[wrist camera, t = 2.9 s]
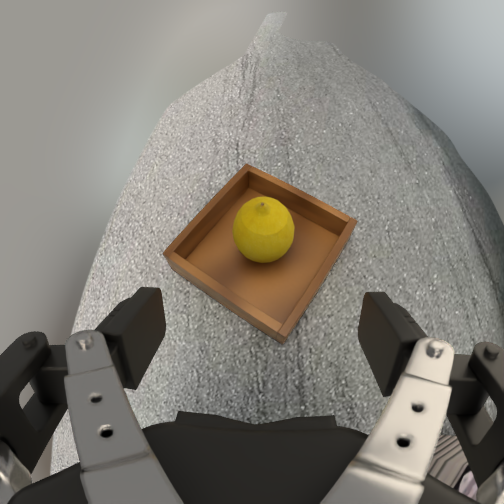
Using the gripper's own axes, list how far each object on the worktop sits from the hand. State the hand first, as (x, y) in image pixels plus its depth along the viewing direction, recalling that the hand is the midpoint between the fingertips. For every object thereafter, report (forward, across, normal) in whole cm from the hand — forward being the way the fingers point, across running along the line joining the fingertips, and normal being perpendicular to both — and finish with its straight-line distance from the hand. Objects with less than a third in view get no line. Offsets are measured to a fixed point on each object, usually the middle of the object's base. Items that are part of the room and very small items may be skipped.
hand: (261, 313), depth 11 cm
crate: (+19, 0, +4) cm, 20 cm away
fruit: (+19, 0, +4) cm, 19 cm away
